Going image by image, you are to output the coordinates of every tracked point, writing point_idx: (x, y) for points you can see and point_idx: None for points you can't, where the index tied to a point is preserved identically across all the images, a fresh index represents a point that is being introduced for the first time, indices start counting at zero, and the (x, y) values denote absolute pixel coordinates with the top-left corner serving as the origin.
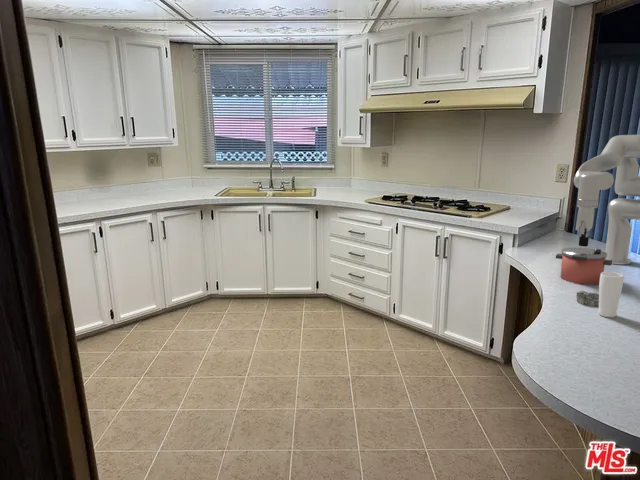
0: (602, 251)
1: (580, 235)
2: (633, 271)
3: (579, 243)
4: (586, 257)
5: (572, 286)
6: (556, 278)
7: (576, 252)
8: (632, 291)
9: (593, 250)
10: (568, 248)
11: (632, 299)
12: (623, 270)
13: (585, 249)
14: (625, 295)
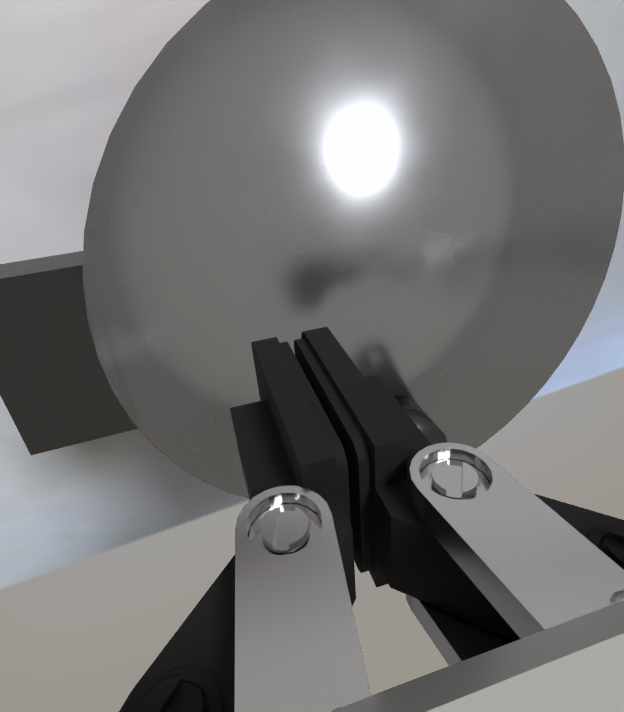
0: (515, 409)
1: (240, 562)
2: (608, 368)
3: (262, 370)
4: (94, 434)
5: (5, 232)
6: (139, 10)
7: (287, 236)
8: (229, 500)
9: (525, 336)
10: (512, 23)
11: (74, 555)
12: (613, 329)
13: (544, 252)
14: (119, 513)
